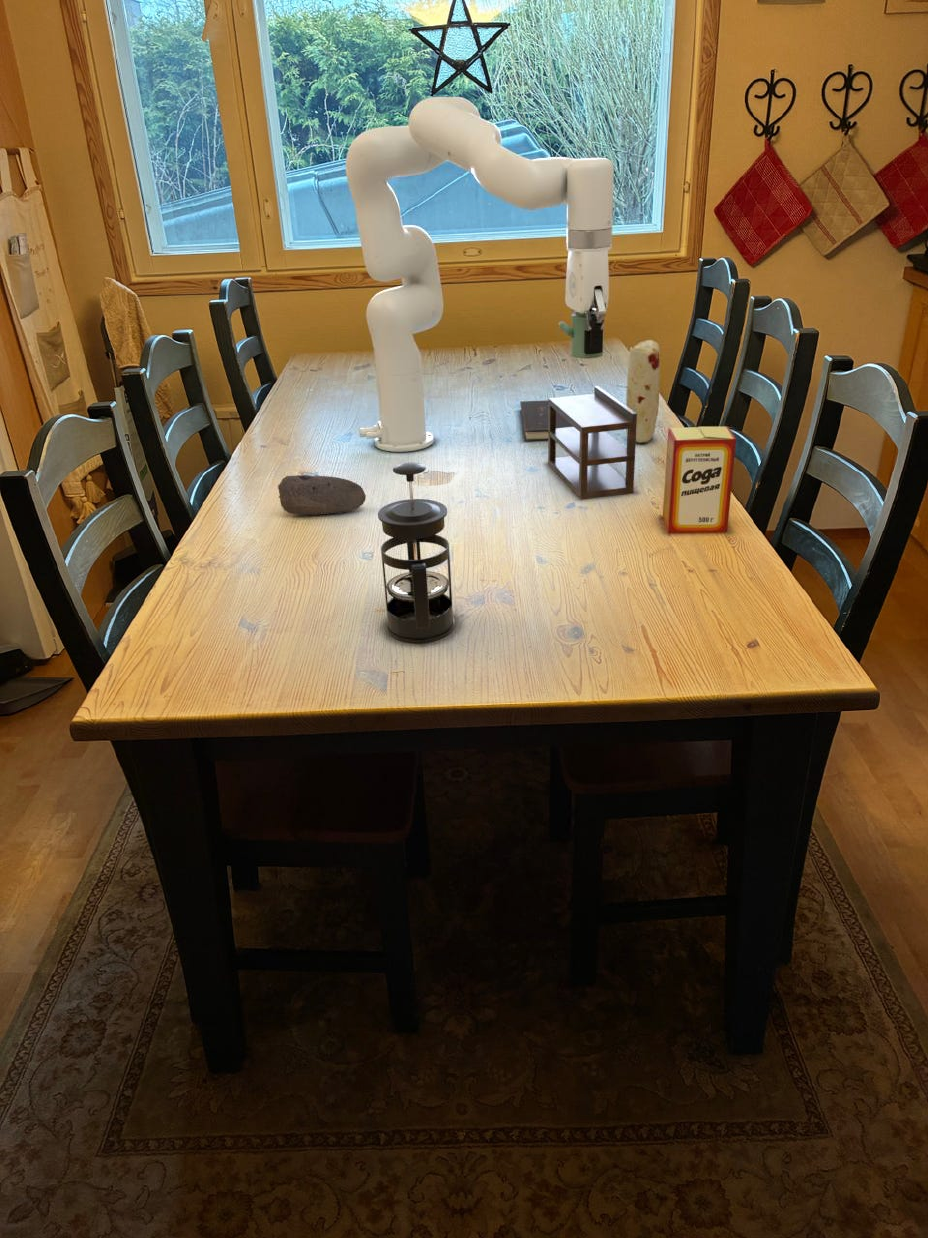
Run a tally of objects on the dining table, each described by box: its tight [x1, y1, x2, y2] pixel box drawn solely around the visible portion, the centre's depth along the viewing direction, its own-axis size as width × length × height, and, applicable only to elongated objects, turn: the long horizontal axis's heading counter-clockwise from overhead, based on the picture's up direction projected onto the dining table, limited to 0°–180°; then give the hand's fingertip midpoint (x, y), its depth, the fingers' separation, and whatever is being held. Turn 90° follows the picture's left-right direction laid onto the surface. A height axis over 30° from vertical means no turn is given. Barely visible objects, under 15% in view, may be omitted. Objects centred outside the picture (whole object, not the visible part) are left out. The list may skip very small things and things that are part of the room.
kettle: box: [558, 308, 605, 360], centre depth 164 cm, size 8×6×9 cm
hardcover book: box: [519, 399, 574, 442], centre depth 208 cm, size 16×23×2 cm
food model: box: [625, 339, 661, 444], centre depth 192 cm, size 10×7×20 cm
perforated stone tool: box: [277, 474, 367, 516], centre depth 166 cm, size 15×5×7 cm, turn 89°
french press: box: [377, 462, 456, 644], centre depth 123 cm, size 12×9×23 cm
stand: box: [547, 385, 637, 500], centre depth 174 cm, size 10×20×15 cm, turn 12°
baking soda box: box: [662, 425, 737, 534], centre depth 152 cm, size 10×6×16 cm
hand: (587, 348), depth 166 cm, fingers closed on kettle, 5 cm apart
